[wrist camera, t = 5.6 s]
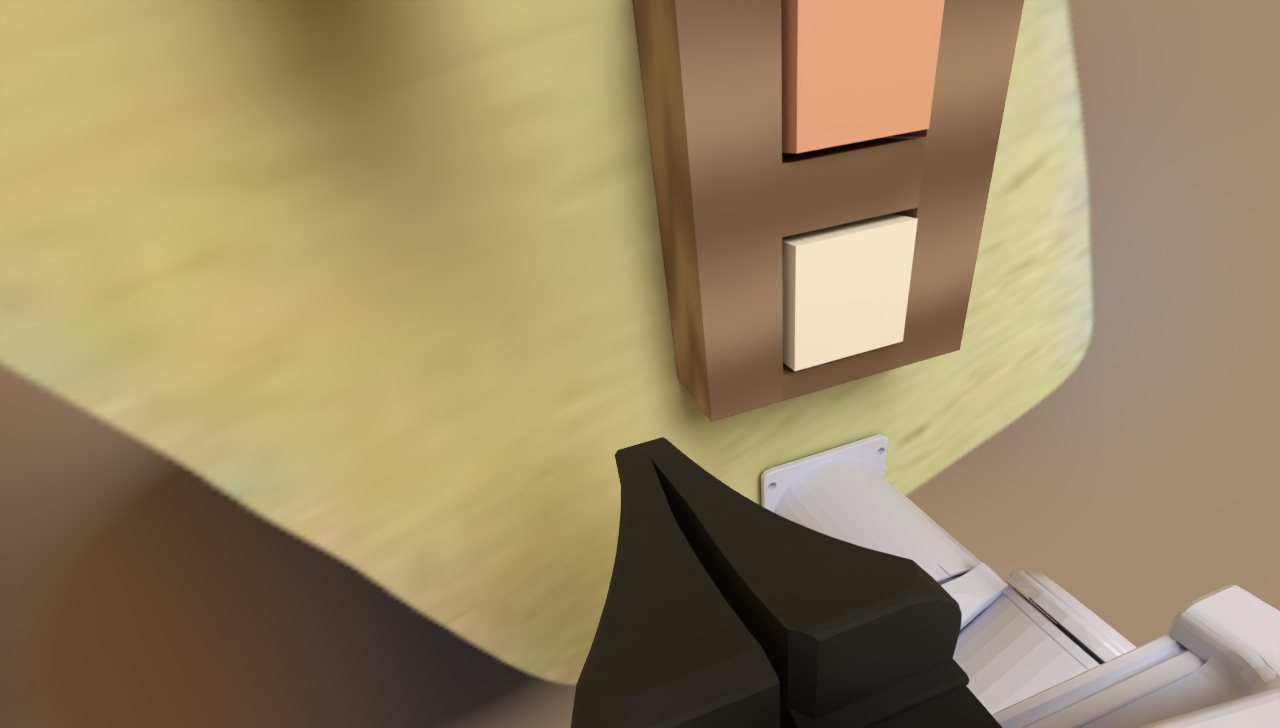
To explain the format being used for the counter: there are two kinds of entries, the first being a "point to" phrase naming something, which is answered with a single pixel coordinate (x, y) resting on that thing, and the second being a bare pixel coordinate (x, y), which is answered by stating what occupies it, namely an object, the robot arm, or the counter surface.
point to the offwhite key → (846, 289)
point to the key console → (805, 190)
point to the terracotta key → (856, 69)
